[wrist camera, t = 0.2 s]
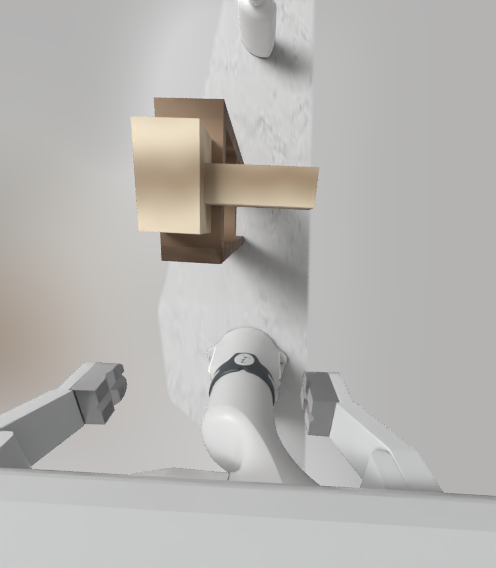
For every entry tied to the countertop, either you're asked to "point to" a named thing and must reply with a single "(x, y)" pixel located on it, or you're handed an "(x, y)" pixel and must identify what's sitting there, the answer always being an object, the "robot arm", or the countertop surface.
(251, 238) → the countertop surface
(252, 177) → the wooden mallet
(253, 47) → the eye dropper bottle
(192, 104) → the walnut shelf
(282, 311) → the countertop surface
